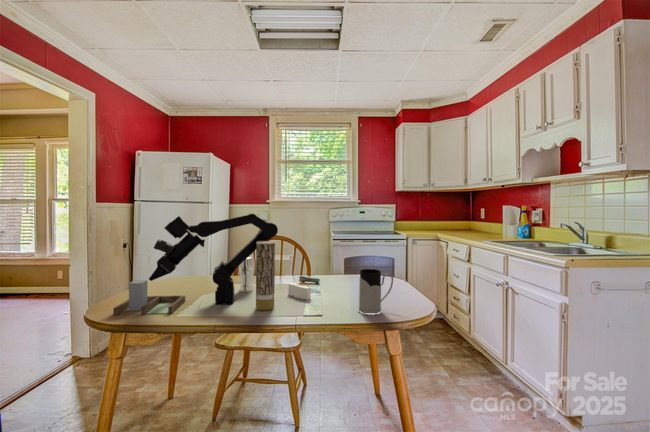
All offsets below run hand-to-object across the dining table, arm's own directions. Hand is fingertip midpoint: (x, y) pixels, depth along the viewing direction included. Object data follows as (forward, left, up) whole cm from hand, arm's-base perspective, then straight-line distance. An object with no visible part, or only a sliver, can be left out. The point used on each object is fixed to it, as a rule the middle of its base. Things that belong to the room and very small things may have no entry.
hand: (152, 277), depth 121 cm
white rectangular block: (-55, -12, -12) cm, 58 cm away
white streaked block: (-31, -24, -11) cm, 41 cm away
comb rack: (0, +1, -11) cm, 11 cm away
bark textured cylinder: (-42, +4, -11) cm, 43 cm away
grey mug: (-83, +10, -11) cm, 84 cm away
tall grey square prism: (+5, +1, -11) cm, 12 cm away
